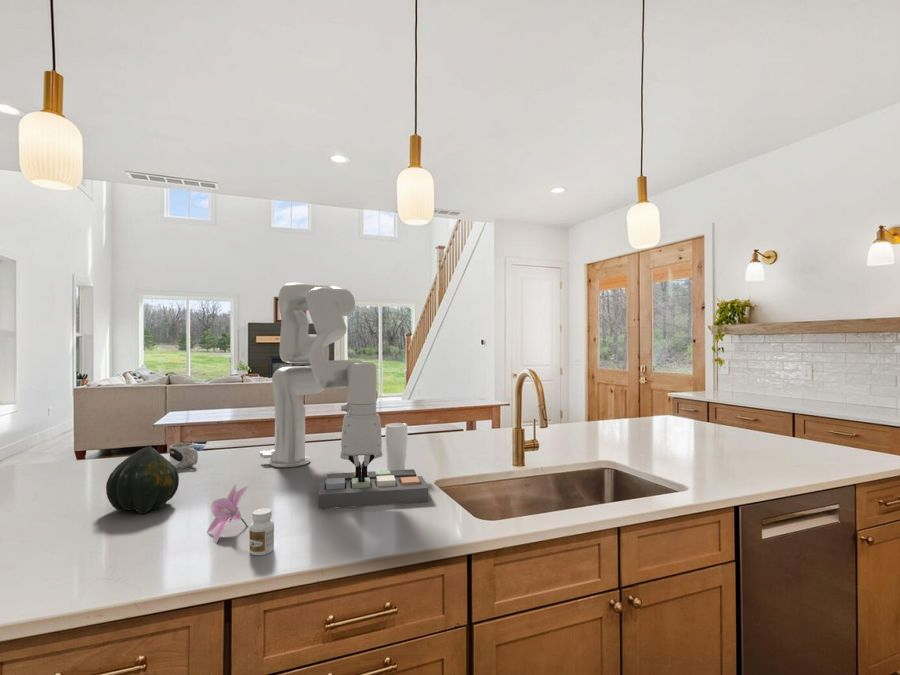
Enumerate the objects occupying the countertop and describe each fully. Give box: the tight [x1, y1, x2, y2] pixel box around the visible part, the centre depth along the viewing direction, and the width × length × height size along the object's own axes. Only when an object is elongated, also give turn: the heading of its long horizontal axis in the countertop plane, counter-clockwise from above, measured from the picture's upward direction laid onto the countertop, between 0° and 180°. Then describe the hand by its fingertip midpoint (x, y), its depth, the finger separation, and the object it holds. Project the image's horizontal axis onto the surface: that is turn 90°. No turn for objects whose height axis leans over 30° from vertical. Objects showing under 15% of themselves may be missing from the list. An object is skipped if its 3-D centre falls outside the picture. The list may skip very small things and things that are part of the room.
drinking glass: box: [384, 422, 409, 471], centre depth 145 cm, size 7×7×15 cm
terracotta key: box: [400, 477, 420, 485], centre depth 126 cm, size 5×5×2 cm
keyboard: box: [317, 468, 429, 510], centre depth 125 cm, size 27×16×4 cm, turn 102°
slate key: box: [325, 478, 345, 490], centre depth 121 cm, size 5×5×2 cm
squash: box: [105, 446, 180, 514], centre depth 115 cm, size 14×15×15 cm
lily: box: [206, 483, 249, 544], centre depth 101 cm, size 12×12×10 cm
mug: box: [169, 442, 199, 470], centre depth 151 cm, size 10×7×7 cm
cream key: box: [376, 475, 396, 487], centre depth 124 cm, size 5×5×2 cm
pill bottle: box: [249, 507, 275, 556], centre depth 92 cm, size 4×4×8 cm
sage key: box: [352, 477, 370, 488], centre depth 123 cm, size 5×5×2 cm
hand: (361, 480), depth 123 cm, fingers closed
